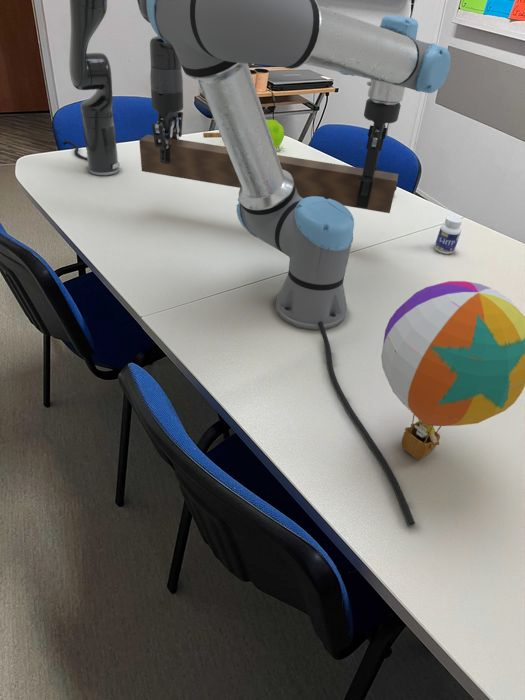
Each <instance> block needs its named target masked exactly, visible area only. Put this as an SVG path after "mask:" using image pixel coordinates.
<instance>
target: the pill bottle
mask: <svg viewBox="0 0 525 700" xmlns="http://www.w3.org/2000/svg"><path fill="white" fill-rule="evenodd" d="M462 222H463V219H461V218H460V217H458V216H455V215H448V216H446V218H445V220H444V223H443V224H442V225H440V228H439V231H438V234H437V237H436V240H435V243H434V250H435V251H437V252H439V253H441V254H447V255H449V254H453V253H454V252H455V250H456V247H457V244H458V242H459V239H460V236H461V233H462V229H461V225H462Z"/></svg>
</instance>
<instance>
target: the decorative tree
mask: <svg viewBox="0 0 525 700" xmlns="http://www.w3.org/2000/svg"><path fill="white" fill-rule="evenodd" d="M266 122H267V125H268V128H269V131H270V134H271V137H272V140H273V143H274V146H275V149H277V148H278V147H280V146H281V144H282V143H283V141H284V137H285V129H284V127H283V125H282V124H281V123H279V122H278V121H277V120H276V119H266ZM202 137H203V138H206V139H207V138H222V137H221V135H220V132H203V134H202Z"/></svg>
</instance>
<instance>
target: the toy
mask: <svg viewBox="0 0 525 700" xmlns="http://www.w3.org/2000/svg"><path fill="white" fill-rule="evenodd" d="M380 357H381V358H380V359H381V367H382V370H383V372H384V375H385V377H386V379H387V381H388V384H389V386H390V388H391V390H392V393H393V394H394V395H395V397H396V398H397V399H398V400H399V401H400V402H401V403H402V405H403V406H404V407H405V408H407V410H408V411H409V412H410V413H412V414H413V415H412V422H411V424H410V427H409V426H407V427H405V428H404V432H403V435H402V437H401V442H400V445H401V446H400V447H401V448H402V450H404V451H406V453H408V454H409V455H410V456H412V457H413V458H414V459H416V460H417V461H421V460H423V459H425V458H426V457H427V456H428V455H429V454H430V453H432V452H433V451H434V450H435V448H436V447H437V446H439V445H440V442H439V441H440V439H441V434H439V431H440V429H441V428H442V427H456V426H467V425H476V424H479V423H482V422H484V421H486V420H488V419H490V418H492V417H495V416H497V415H498V414H501V413H503V412H505V411H507V410H508V409H509V408H510V407H511V406H513V405H514V404H515V403H516V402H517V400H518V399H519V397H520V396H521V394H522V393H523V391H524V390H525V315H524V314H523V313H522V312H521V310H519V308H518V307H517V306H516V305H515V303H514V302H513V301H511V299H510V298H509V297H507V296H506V295H504V294H503V293H501V292H499V291H498V290H496V289H494V288H493V287H489V286H487V285H484V284H481V283H476V282H472V281H465V280H454V281H453V280H449V281H445V282H441V283H437V284H433V285H429V286H426V287H423V288H422V289H419V290H418V291H416V292H415V293H414V294H412V295H411V296H410V297H409V298H408V299H407V300H405V302H404V303H403V304H401V305H400V306H399V307H398V308H397V309H396V310H395V312H394V313H393V314H392V316H391V317H390V318H389V320H388V322H387V325H386V328H385V330H384V335H383V343H382V349H381V355H380ZM415 417H416V418H417V419H418V421H416V422H415V423H414V420H415ZM434 427H438V429H436V431H435V428H434Z"/></svg>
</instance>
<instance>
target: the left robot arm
mask: <svg viewBox="0 0 525 700" xmlns="http://www.w3.org/2000/svg"><path fill="white" fill-rule="evenodd" d="M136 1H137V5H138V10H139V12H140V14H141V16H142V18H143V19H144V20H145V21H146V22H148V23H149V24H151V23H150V21H149V17H148V13H147V0H136ZM107 9H108V0H69V15H70V40H69V57H68V58H69V61H68V66H69V67H68V68H69V76H70V80H71V83H72V85H73V87H74V88H75V89H76V90H79V91H90V90H91V91H93V90H94V91H95V90H96V91H95V92H94V93H93V95H92V96H91V97H89V98H87V99H85V100H84V101H82V102H81V103H80V115H81V122H82V128H83V137H84V144H85V153H86V156H83V155H82V154H80V153H79V152H78V151H79V146H78V145H77V144H75V142H72V141H70V140H64V141H63V142H62V145H63V146H64V145H65V146H66V145H67V144H69V145H71V146H72V147H74V148H75V149H74V154H75V156H77V157H78V158H79V159H82V160H84V161H87V165H88V167H87V168H88V172H89V173H90V174H91V175H95V176H113V175H115V174H117V173H119V172H120V162H119V158H118V148H117V138H116V129H115V128H116V127H115V117H114V98H113V96H114V95H113V77H112V69H111V64H110V61H109V58H108V57H107V56H106V54H105V53H103V52H87V50H88V46H89V44H90V41H91V39H92V37H93V36H94V34H95V32H96V31H97V29H98V28H99V26H100V25H101V23H102V21H103V19H104V18H105V16H106V14H107ZM149 54H150V56H149V57H150V58H149V59H150V75H149V77H150V78H149V79H150V93H151V94H150V96H151V97H150V98H151V108H152V109H153V110H154V111H156V112H157V122H156V123H152V124H151V129H152V135H153V136H154V142H155V147H158V148H160V160H161V163H165V164H168V163H169V162H170V157H169V143H170V139H172V138H173V139H180V138H182V135H183V121H184V120H183V119H184V112H183V111H182V110H184V78H183V71H182V70H183V68H182V66H181V64H180V61H179V59H178V57H177V54H176V52H175V50H174V48H173V46H172V45H171V44H168V43H166V42H164V41H163V40H162V39H161V38H160V37H159V36H158V35H155V36H153V37H152V38H151V39H150V41H149ZM165 138H166V140H165ZM158 139H159V142H158Z"/></svg>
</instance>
